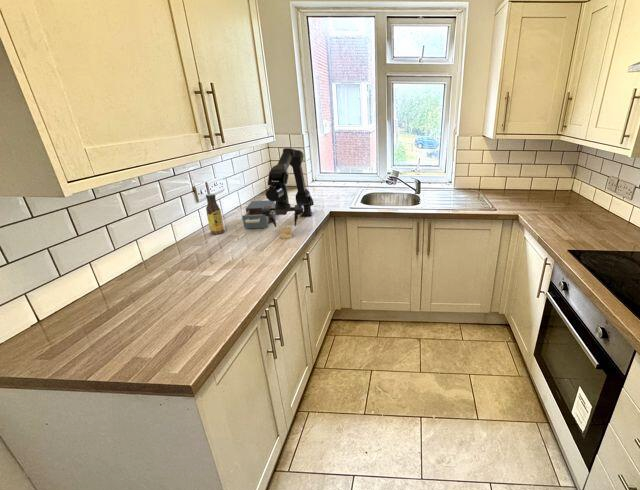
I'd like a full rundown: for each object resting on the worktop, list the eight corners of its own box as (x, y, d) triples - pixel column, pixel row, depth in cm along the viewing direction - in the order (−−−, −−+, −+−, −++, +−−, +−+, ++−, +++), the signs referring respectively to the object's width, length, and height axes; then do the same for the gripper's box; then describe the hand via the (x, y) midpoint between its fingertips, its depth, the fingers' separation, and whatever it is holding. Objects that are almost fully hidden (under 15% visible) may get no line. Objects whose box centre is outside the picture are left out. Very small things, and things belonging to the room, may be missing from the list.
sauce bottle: (218, 235, 157) (210, 196, 149) (207, 234, 158) (198, 195, 150) (227, 230, 163) (220, 193, 155) (217, 229, 164) (209, 192, 156)
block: (282, 235, 158) (281, 226, 157) (292, 234, 159) (291, 226, 158) (281, 238, 154) (280, 230, 153) (291, 237, 155) (289, 229, 154)
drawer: (265, 230, 161) (263, 218, 159) (241, 231, 159) (239, 219, 156) (271, 218, 178) (270, 207, 175) (250, 219, 176) (248, 208, 173)
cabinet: (272, 222, 175) (270, 207, 172) (248, 223, 173) (245, 208, 170) (276, 213, 189) (274, 200, 185) (254, 214, 186) (251, 201, 183)
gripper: (256, 201, 140) (262, 233, 146) (300, 199, 143) (303, 231, 149) (261, 194, 150) (266, 225, 156) (302, 193, 153) (305, 223, 159)
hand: (285, 226), depth 155 cm, fingers open, 9 cm apart
